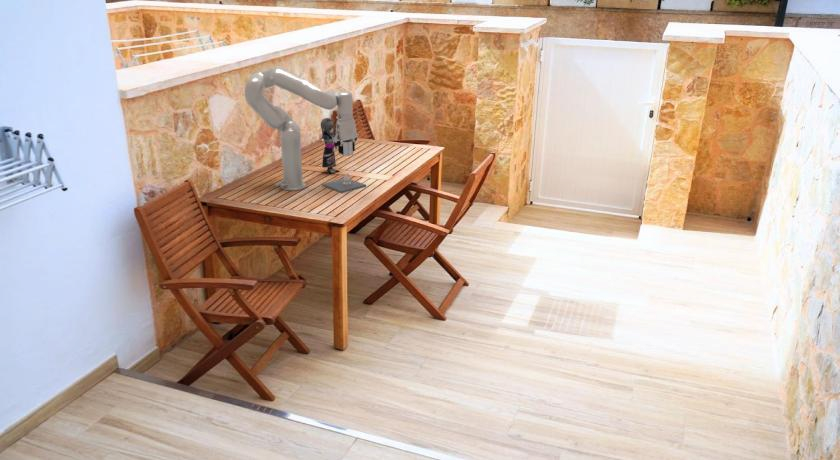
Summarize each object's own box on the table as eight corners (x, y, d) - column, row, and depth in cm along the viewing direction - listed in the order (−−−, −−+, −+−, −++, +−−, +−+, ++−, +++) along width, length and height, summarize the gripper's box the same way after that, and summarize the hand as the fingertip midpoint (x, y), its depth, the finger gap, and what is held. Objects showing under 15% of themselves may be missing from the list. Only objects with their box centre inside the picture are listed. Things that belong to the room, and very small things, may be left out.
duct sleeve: (345, 156, 338) (345, 142, 335) (337, 154, 342) (337, 140, 339) (355, 154, 342) (355, 140, 339) (347, 151, 346) (347, 138, 344)
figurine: (329, 178, 358) (327, 122, 347) (315, 177, 359) (313, 122, 348) (339, 169, 374) (337, 116, 363) (326, 169, 375) (324, 115, 364)
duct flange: (341, 193, 336) (341, 181, 334) (322, 185, 347) (321, 174, 345) (366, 186, 347) (365, 175, 344) (346, 179, 357) (346, 168, 355)
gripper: (336, 120, 327) (337, 156, 333) (363, 115, 338) (364, 150, 345) (326, 118, 332) (328, 153, 338) (354, 113, 343) (355, 147, 350)
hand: (346, 151), depth 342 cm, fingers closed on duct sleeve, 6 cm apart
